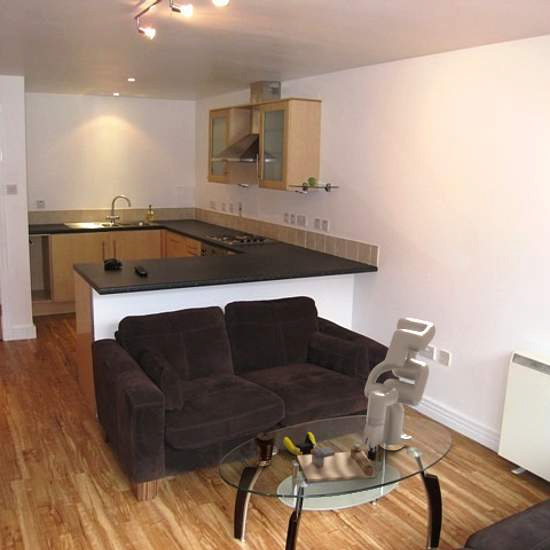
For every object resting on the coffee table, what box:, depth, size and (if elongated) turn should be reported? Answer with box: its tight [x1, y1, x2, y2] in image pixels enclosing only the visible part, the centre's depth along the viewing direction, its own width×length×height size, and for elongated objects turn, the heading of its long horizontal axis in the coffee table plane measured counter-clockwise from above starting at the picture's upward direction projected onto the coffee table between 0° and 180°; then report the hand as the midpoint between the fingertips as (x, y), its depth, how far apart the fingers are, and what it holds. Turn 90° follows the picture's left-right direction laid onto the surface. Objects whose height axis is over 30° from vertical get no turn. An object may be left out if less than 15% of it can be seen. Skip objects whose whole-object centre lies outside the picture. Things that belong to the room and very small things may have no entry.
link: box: [350, 446, 374, 476], centre depth 257 cm, size 18×4×3 cm, turn 16°
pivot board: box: [296, 443, 378, 482], centre depth 257 cm, size 30×18×7 cm, turn 101°
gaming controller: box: [282, 431, 317, 456], centre depth 269 cm, size 15×6×10 cm
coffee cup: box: [254, 431, 276, 462], centre depth 257 cm, size 9×8×13 cm
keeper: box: [311, 445, 336, 468], centre depth 257 cm, size 8×5×6 cm, turn 113°
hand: (371, 459), depth 258 cm, fingers closed
